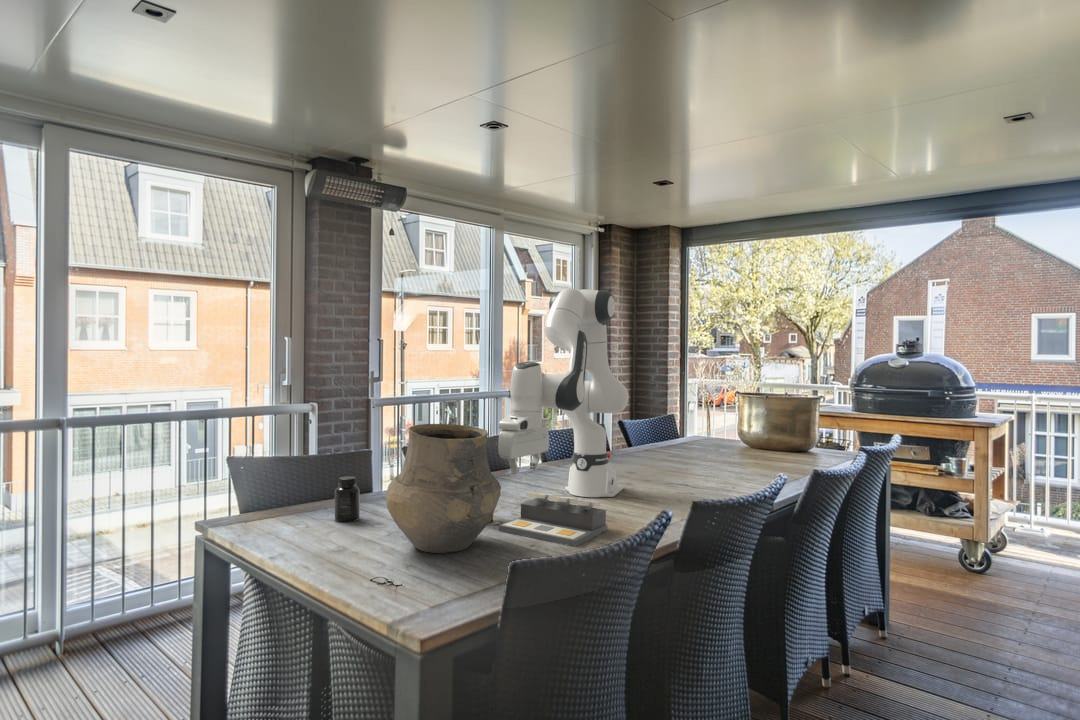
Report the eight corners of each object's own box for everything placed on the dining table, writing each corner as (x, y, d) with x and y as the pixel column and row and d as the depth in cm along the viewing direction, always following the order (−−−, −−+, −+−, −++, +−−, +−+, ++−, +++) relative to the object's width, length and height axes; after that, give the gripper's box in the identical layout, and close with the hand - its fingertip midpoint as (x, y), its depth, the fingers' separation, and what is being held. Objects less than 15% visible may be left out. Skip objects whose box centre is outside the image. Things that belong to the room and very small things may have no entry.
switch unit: (534, 516, 189) (534, 498, 188) (607, 530, 176) (607, 510, 176) (498, 530, 173) (498, 510, 173) (575, 546, 161) (576, 525, 160)
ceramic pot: (447, 524, 179) (449, 418, 178) (524, 545, 161) (526, 427, 160) (362, 547, 157) (363, 426, 156) (439, 575, 139) (441, 438, 138)
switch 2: (566, 505, 184) (567, 496, 184) (577, 506, 182) (578, 498, 182) (546, 504, 175) (548, 495, 175) (558, 506, 173) (559, 497, 173)
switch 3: (587, 508, 180) (588, 500, 181) (598, 510, 178) (599, 501, 179) (569, 508, 171) (570, 499, 172) (580, 510, 169) (581, 501, 170)
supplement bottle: (364, 518, 184) (364, 476, 184) (348, 524, 178) (348, 481, 177) (346, 515, 187) (346, 474, 186) (329, 520, 180) (329, 478, 180)
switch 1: (545, 501, 188) (546, 493, 188) (556, 503, 186) (557, 495, 186) (525, 501, 179) (526, 492, 179) (536, 502, 177) (537, 494, 177)
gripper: (536, 417, 185) (535, 465, 185) (494, 423, 167) (493, 475, 167) (555, 419, 181) (554, 467, 181) (514, 424, 164) (513, 478, 164)
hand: (524, 471), depth 174 cm, fingers open, 8 cm apart
